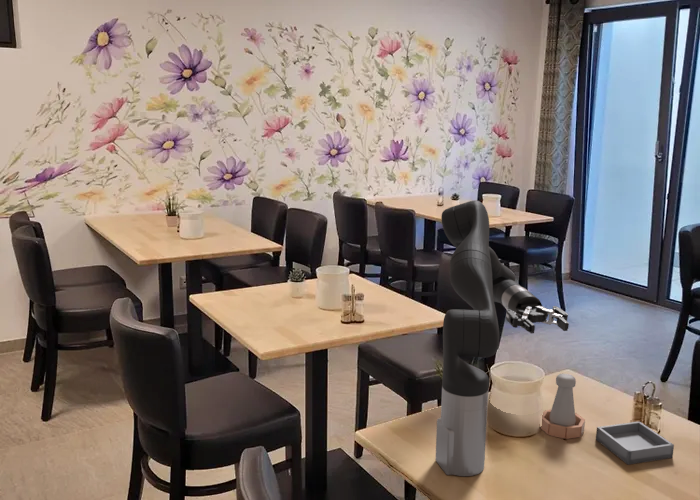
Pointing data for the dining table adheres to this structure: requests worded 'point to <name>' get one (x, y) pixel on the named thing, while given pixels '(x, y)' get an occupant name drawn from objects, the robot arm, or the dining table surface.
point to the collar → (562, 427)
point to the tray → (634, 442)
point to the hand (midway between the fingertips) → (550, 328)
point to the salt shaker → (564, 402)
